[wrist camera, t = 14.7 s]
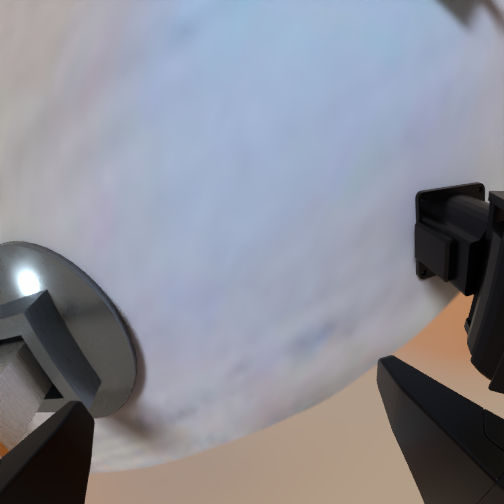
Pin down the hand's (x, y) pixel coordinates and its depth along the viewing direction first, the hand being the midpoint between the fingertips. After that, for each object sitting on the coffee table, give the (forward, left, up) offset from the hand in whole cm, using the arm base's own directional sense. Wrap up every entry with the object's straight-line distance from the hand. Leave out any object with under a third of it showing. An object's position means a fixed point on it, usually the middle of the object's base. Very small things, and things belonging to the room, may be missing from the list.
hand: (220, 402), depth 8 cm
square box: (+18, +5, -12) cm, 22 cm away
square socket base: (+18, +5, -13) cm, 23 cm away
